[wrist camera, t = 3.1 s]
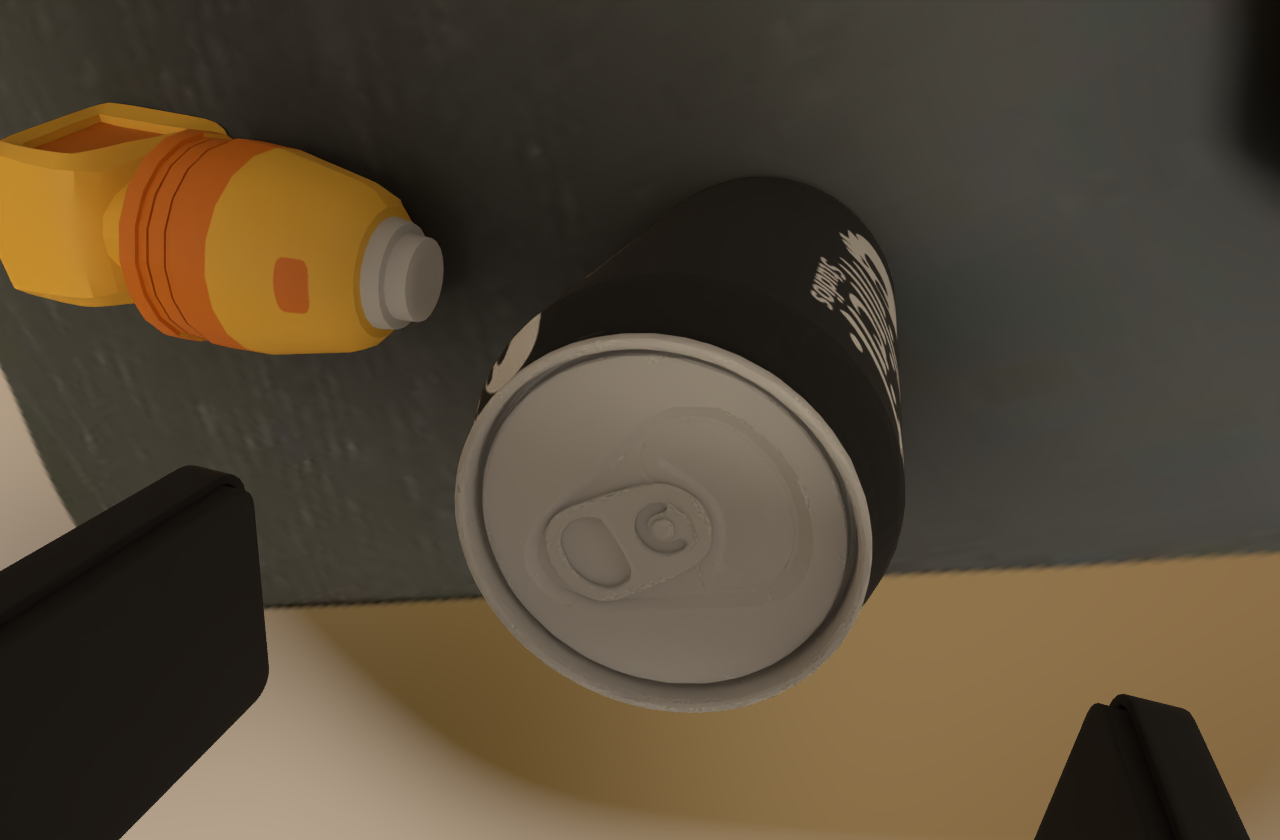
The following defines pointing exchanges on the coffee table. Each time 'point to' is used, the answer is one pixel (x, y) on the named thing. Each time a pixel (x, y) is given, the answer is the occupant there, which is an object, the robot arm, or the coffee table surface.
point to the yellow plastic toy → (210, 233)
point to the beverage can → (695, 454)
